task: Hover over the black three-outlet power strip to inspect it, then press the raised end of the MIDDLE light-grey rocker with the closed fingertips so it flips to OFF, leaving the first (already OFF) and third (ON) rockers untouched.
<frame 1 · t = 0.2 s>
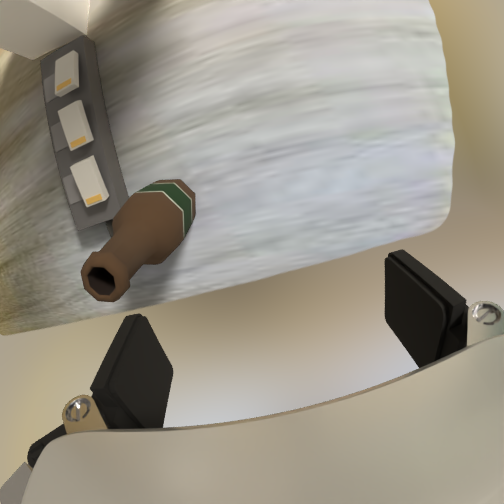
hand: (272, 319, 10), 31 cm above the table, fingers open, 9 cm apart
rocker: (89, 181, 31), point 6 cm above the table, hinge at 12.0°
rocker mid: (75, 125, 28), point 6 cm above the table, hinge at 12.0°
power strip: (85, 129, 34), on the table
beer bottle: (171, 203, 39), on the table
milk: (61, 20, 25), on the table
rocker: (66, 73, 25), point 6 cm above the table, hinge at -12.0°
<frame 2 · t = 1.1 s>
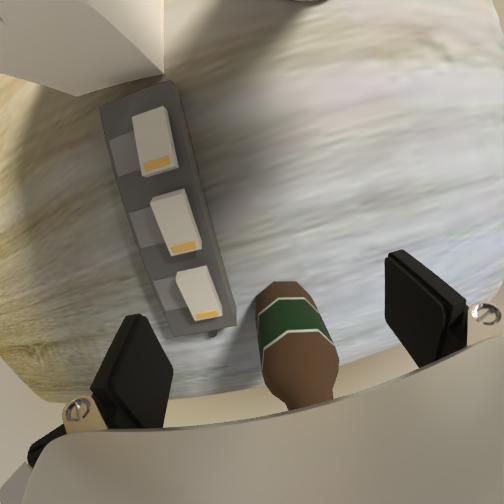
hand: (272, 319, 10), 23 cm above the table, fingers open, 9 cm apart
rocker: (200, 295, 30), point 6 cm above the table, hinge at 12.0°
rocker mid: (177, 223, 27), point 6 cm above the table, hinge at 12.0°
power strip: (173, 212, 32), on the table
beer bottle: (282, 303, 37), on the table
milk: (118, 42, 24), on the table
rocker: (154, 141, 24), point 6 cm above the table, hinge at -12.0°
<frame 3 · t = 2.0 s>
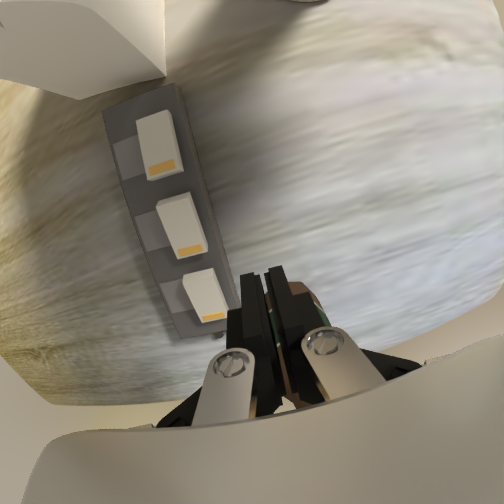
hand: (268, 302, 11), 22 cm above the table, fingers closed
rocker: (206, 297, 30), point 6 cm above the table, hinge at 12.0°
rocker mid: (183, 226, 27), point 6 cm above the table, hinge at 12.0°
power strip: (178, 215, 32), on the table
beer bottle: (287, 303, 38), on the table
milk: (119, 45, 24), on the table
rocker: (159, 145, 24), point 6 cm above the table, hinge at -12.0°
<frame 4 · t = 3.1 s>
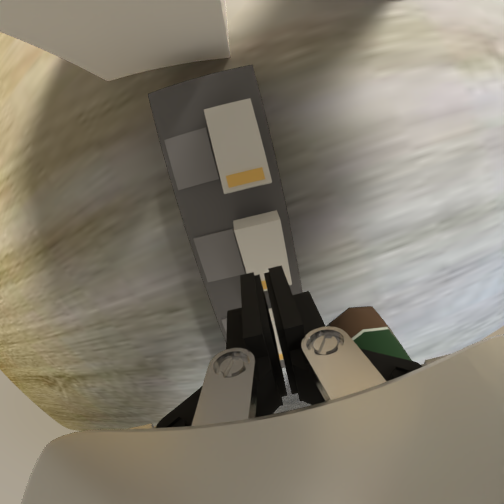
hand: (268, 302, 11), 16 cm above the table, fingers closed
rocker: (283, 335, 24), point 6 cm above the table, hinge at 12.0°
rocker mid: (264, 254, 21), point 6 cm above the table, hinge at 12.0°
power strip: (242, 233, 27), on the table
beer bottle: (353, 328, 32), on the table
milk: (164, 14, 18), on the table
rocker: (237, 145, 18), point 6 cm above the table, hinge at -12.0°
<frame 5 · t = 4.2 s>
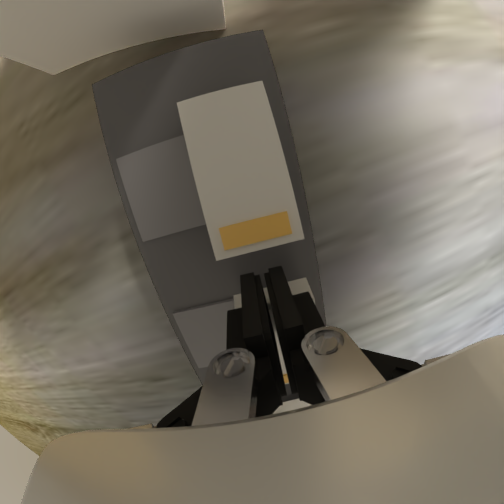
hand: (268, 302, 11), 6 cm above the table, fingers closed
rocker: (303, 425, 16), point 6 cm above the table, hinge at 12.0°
rocker mid: (283, 342, 13), point 6 cm above the table, hinge at 11.2°, touching gripper
power strip: (247, 291, 18), on the table
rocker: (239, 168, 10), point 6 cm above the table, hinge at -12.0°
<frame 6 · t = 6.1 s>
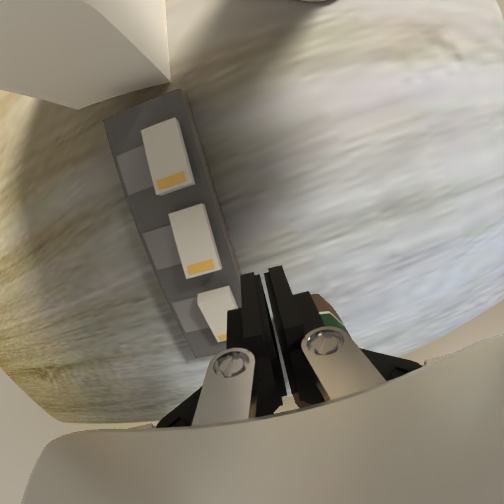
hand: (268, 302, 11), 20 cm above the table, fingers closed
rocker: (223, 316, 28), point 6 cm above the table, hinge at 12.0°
rocker mid: (195, 241, 25), point 6 cm above the table, hinge at -18.0°, touching power strip
power strip: (189, 230, 31), on the table
beer bottle: (304, 316, 36), on the table
milk: (119, 49, 23), on the table
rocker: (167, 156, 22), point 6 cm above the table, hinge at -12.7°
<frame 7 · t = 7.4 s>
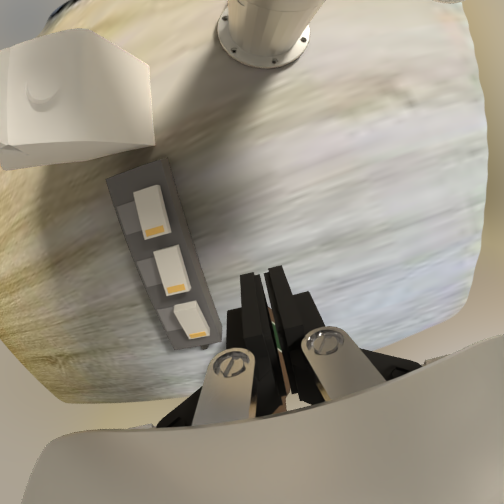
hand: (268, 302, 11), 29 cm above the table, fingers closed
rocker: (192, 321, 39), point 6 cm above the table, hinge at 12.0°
rocker mid: (172, 270, 36), point 6 cm above the table, hinge at -12.4°
power strip: (170, 257, 41), on the table
beer bottle: (258, 322, 47), on the table
milk: (114, 113, 33), on the table
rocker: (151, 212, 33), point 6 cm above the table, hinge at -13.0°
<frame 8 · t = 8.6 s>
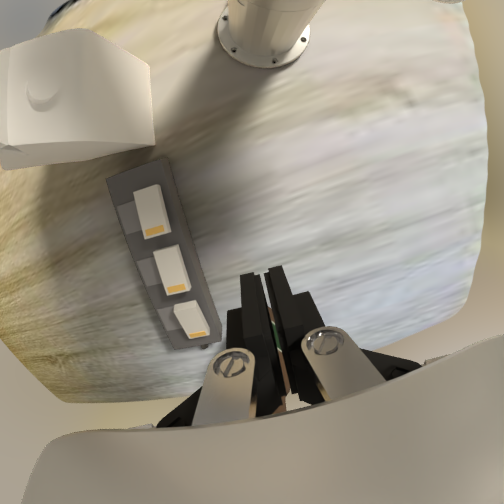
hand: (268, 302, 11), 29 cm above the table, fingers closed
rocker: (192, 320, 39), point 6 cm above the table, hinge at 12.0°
rocker mid: (172, 270, 36), point 6 cm above the table, hinge at -9.4°
power strip: (170, 256, 41), on the table
beer bottle: (258, 322, 47), on the table
milk: (114, 113, 33), on the table
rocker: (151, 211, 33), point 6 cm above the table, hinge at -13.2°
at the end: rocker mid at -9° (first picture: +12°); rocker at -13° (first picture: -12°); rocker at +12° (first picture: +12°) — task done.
